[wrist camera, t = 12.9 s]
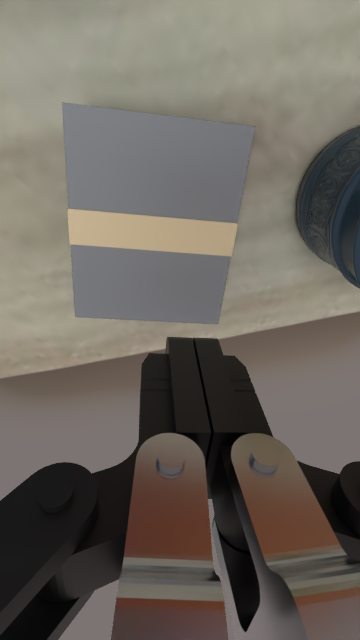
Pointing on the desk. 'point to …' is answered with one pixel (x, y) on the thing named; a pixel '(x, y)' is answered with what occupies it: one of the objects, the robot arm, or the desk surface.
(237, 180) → the lid
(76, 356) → the desk surface
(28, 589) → the robot arm
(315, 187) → the canister
